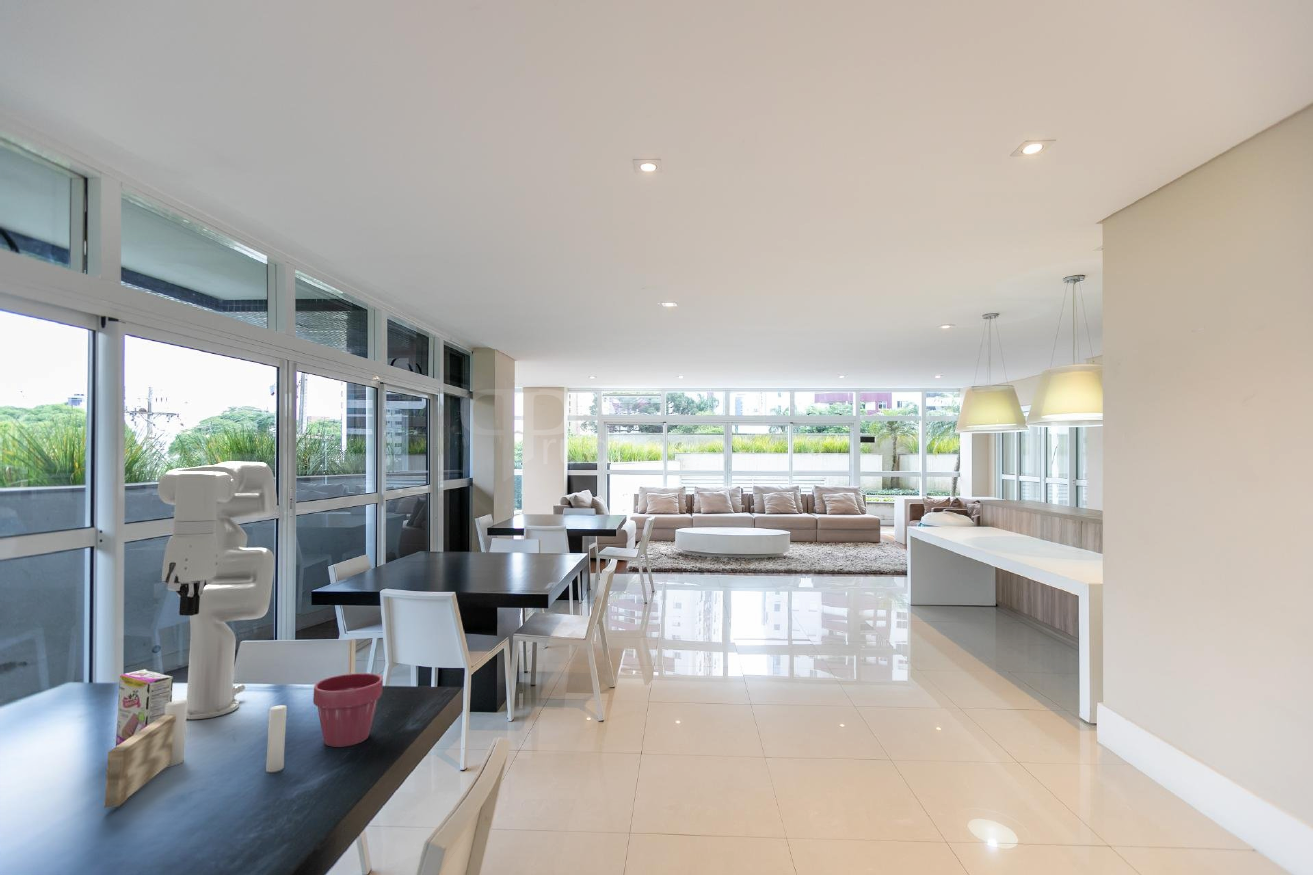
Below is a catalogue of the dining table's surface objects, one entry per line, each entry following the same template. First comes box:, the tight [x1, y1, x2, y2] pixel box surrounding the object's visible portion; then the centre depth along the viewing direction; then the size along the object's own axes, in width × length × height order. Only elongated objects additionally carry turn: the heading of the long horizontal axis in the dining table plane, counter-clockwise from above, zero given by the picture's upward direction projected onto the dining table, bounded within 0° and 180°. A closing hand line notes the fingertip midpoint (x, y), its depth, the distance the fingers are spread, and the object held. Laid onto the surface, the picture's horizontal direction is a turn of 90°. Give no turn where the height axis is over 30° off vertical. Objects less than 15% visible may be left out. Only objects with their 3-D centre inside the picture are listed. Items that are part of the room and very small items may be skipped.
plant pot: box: [312, 672, 384, 748], centre depth 145 cm, size 14×14×13 cm
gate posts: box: [165, 699, 288, 773], centre depth 130 cm, size 4×26×12 cm, turn 84°
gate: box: [104, 715, 176, 808], centre depth 120 cm, size 18×2×9 cm, turn 12°
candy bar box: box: [115, 668, 174, 747], centre depth 136 cm, size 11×5×16 cm, turn 65°
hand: (189, 614), depth 137 cm, fingers closed
